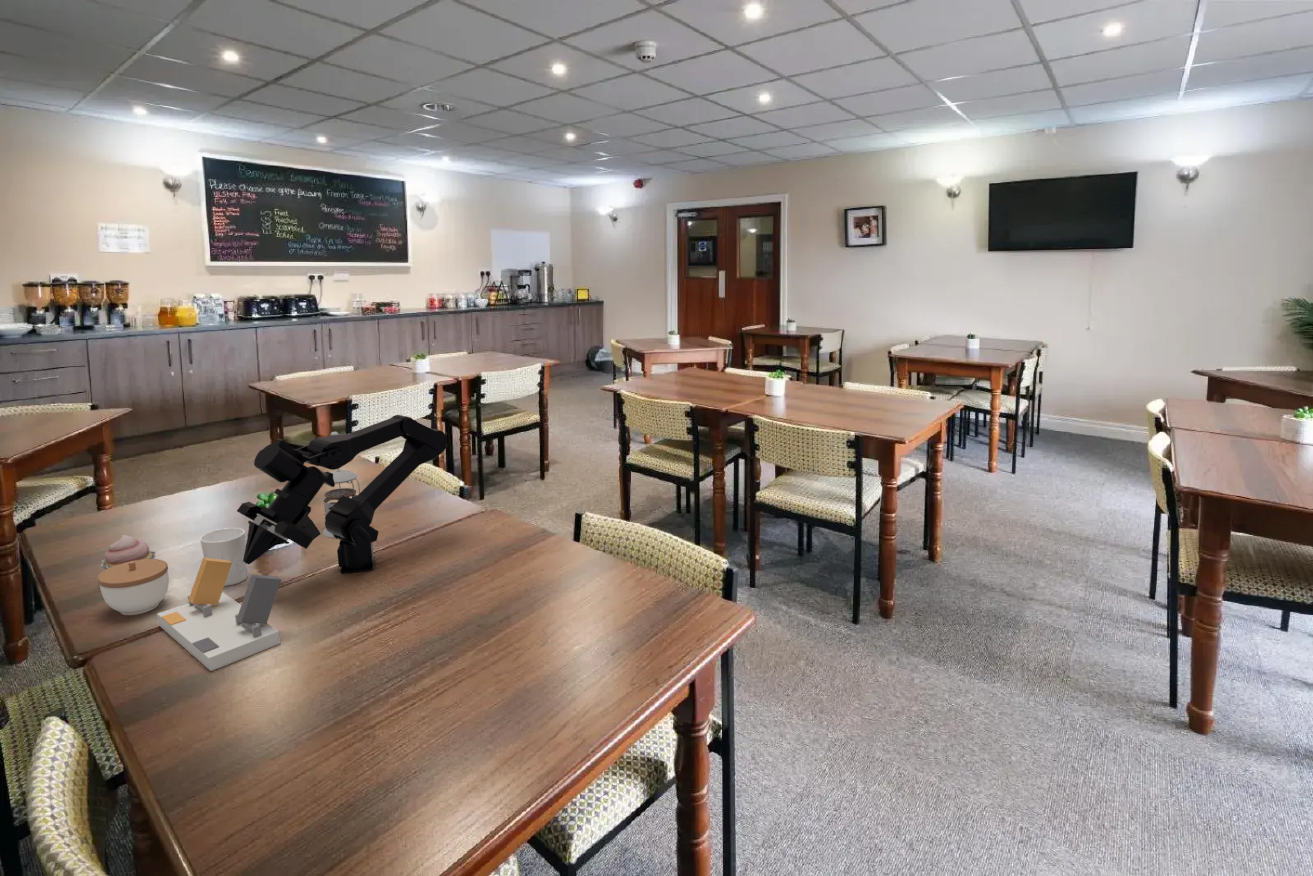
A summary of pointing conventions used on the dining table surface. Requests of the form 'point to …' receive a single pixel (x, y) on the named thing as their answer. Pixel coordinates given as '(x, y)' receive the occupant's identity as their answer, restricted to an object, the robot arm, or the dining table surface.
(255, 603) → the charcoal rocker
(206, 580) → the orange rocker
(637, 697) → the dining table surface
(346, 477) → the french press
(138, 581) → the lidded jar
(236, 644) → the switch console
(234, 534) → the white cup
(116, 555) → the cupcake
